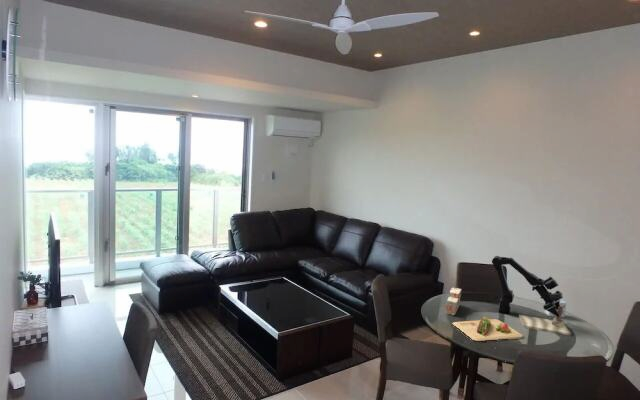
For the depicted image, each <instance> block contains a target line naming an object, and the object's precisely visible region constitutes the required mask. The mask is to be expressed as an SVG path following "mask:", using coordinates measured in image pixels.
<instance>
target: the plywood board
mask: <svg viewBox="0 0 640 400" xmlns="http://www.w3.org/2000/svg"><path fill="white" fill-rule="evenodd" d="M518 318H519V320H520V322H521V324H522V327H523V328H525V329H530V330H536V331H541V332H548V333H551V334H552V333H553V334H559V335H565V336H568V337H569V336H571V335H572V333H571V331H570V330H569V328H568V327H567V326H566V325H564V326H563V327H559V326H556V325H552V320H553V319H547V318H541V317H535V316H528V315H523V314H518Z"/></svg>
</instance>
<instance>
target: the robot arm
mask: <svg viewBox="0 0 640 400" xmlns="http://www.w3.org/2000/svg"><path fill="white" fill-rule="evenodd" d="M491 264H492V265H493V267H494V269H495V270H496V272H497V276H498V280H499V282H500V285H501V289H502V297H500V300H499V303H498V308H497V310H498V313H500V314H507V315H510V313H511V304H512V303H513V302H514V297H515V294H514V291H513V290H512V289H510V288H509V285H508V281H507V278H506V275H505V272H504V265H510V266H511V267H512V268H513V269H514V270H515V271H517V272H518V273H519V274H521V275H522V276H523V277H524V278H525V280H526V281H527V283H529V285H530V286H532V289H531V290H532V291H533V292H534V291H536V293H538V295H539V296H540V299H541V300H543V302H544V305H543V309H544V311H545V310H547V311H549V312H551V313H552V314H554V315H556V316H557V317H560V315H559V314H558V312H557V310H558V307H559V306H560V304H559V303H560V299H562V300H563V297H564V296H563V293H562V292H561V291H560V290H556V291H555V292H554V293H552V292H551V291H549V290H552V289H555V288H556V287H558V286H559V283H558V282H557V281H556V280H555V279H554V278H553V276H549V277H548V278H546V279H542V278H540V277H538V276H537V275H535V274H533V273H532V272H529V271H528V270H527V269H526V268H525V267H524V266H522V265H521V264H520V263H518V262H517V260H515V259H514V258H513V257H506V256H499V255H495V256H494V257H493V258H492V259H491ZM558 300H559V301H558ZM556 309H557V310H556ZM562 313H563V312H562ZM556 316H555V317H556ZM557 317H556V318H557Z"/></svg>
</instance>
